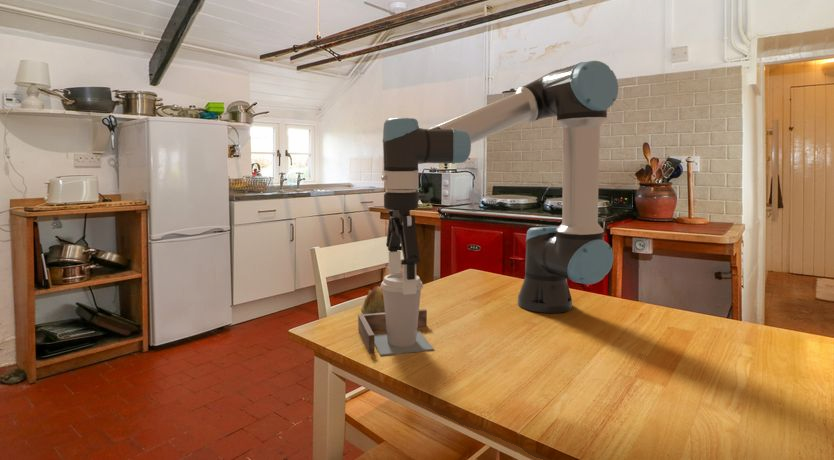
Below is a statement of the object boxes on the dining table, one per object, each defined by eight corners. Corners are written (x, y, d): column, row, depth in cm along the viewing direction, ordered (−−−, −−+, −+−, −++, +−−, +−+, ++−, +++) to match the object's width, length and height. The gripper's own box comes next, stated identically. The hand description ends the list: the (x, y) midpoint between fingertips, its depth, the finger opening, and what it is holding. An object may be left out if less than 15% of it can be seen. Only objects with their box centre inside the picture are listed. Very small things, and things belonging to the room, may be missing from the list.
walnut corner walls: (425, 324, 121) (425, 309, 120) (444, 345, 107) (444, 328, 106) (358, 330, 116) (358, 314, 116) (369, 353, 102) (368, 335, 102)
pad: (418, 331, 116) (418, 330, 116) (434, 350, 104) (434, 348, 104) (370, 336, 112) (370, 335, 112) (380, 355, 101) (380, 354, 101)
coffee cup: (426, 335, 112) (426, 273, 110) (418, 351, 103) (418, 283, 101) (386, 332, 114) (386, 271, 112) (375, 347, 105) (375, 281, 102)
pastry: (353, 311, 132) (352, 283, 131) (392, 304, 138) (392, 277, 137) (374, 326, 120) (374, 295, 119) (417, 318, 126) (417, 289, 125)
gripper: (373, 188, 114) (374, 274, 117) (397, 195, 91) (398, 302, 94) (403, 187, 116) (404, 272, 119) (435, 194, 93) (435, 299, 96)
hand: (401, 285), depth 107 cm, fingers open, 13 cm apart
